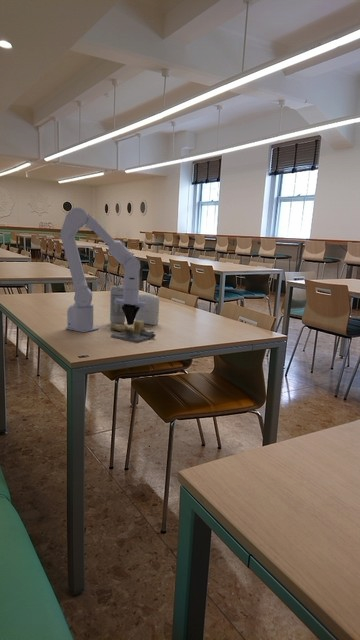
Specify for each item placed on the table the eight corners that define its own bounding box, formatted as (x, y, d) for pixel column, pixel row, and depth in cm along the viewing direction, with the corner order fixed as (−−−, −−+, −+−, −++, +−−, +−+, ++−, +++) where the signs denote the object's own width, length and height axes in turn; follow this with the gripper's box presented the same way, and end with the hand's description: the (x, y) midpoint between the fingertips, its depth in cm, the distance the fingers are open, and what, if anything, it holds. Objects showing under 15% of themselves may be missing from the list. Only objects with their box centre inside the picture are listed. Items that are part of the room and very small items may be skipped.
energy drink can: (126, 322, 171) (127, 286, 168) (123, 325, 165) (123, 288, 162) (112, 321, 171) (112, 285, 168) (108, 324, 165) (108, 287, 162)
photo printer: (159, 324, 171) (161, 294, 168) (154, 325, 167) (155, 295, 165) (139, 320, 176) (140, 291, 173) (133, 322, 172) (134, 292, 170)
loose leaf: (110, 329, 156) (110, 320, 155) (126, 325, 164) (126, 316, 163) (135, 335, 149) (135, 324, 149) (151, 330, 157) (151, 321, 157)
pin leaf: (111, 336, 146) (111, 330, 145) (128, 332, 154) (128, 325, 154) (140, 343, 139) (140, 336, 139) (157, 338, 147) (157, 331, 147)
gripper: (153, 290, 155) (151, 325, 158) (123, 286, 162) (122, 320, 165) (141, 291, 149) (140, 328, 152) (111, 287, 157) (110, 322, 159)
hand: (130, 324), depth 158 cm, fingers closed
